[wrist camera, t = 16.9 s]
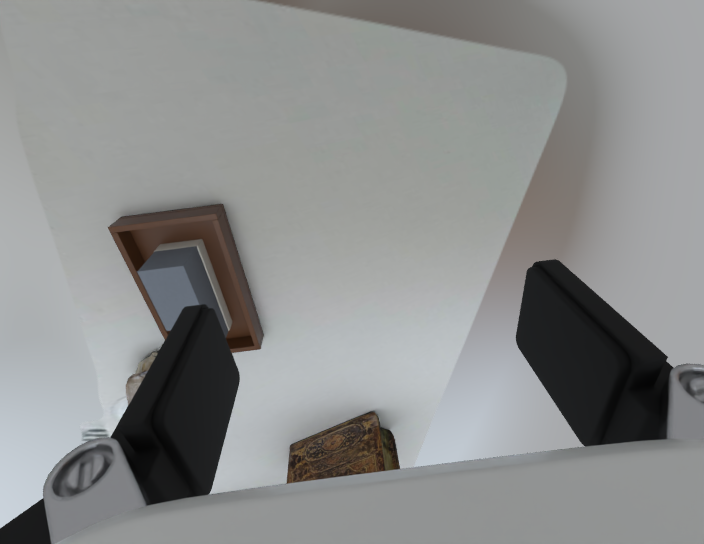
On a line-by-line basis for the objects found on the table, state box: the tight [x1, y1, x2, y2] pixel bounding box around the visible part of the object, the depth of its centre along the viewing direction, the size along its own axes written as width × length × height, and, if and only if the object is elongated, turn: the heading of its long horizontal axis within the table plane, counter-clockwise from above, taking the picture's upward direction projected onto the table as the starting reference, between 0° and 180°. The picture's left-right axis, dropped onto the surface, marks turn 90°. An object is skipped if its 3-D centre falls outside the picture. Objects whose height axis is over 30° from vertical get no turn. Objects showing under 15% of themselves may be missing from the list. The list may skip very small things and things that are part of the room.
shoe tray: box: [108, 204, 264, 353], centre depth 39 cm, size 17×10×3 cm, turn 6°
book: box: [287, 412, 400, 484], centre depth 46 cm, size 16×6×25 cm, turn 119°
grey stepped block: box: [137, 239, 232, 338], centre depth 37 cm, size 11×4×6 cm, turn 6°
